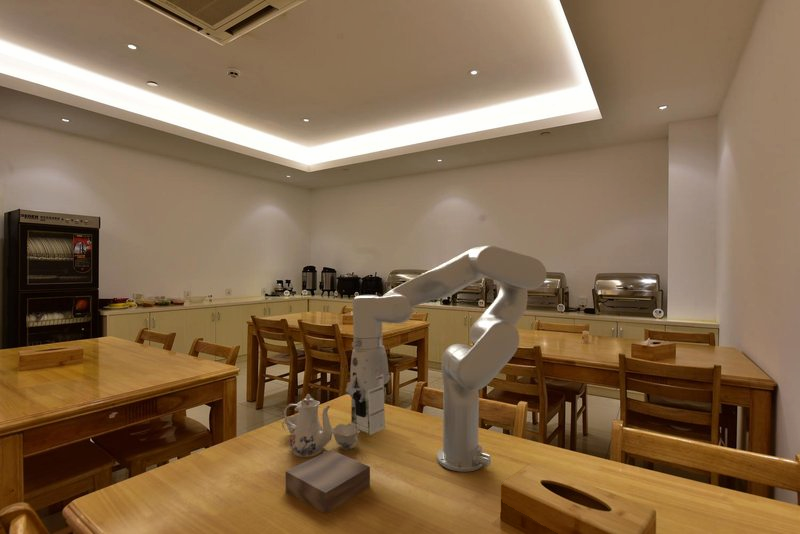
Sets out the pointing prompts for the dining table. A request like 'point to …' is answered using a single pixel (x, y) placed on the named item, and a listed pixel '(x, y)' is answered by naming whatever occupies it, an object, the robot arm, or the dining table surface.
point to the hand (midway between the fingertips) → (369, 411)
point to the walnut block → (327, 480)
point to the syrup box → (373, 410)
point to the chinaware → (316, 430)
